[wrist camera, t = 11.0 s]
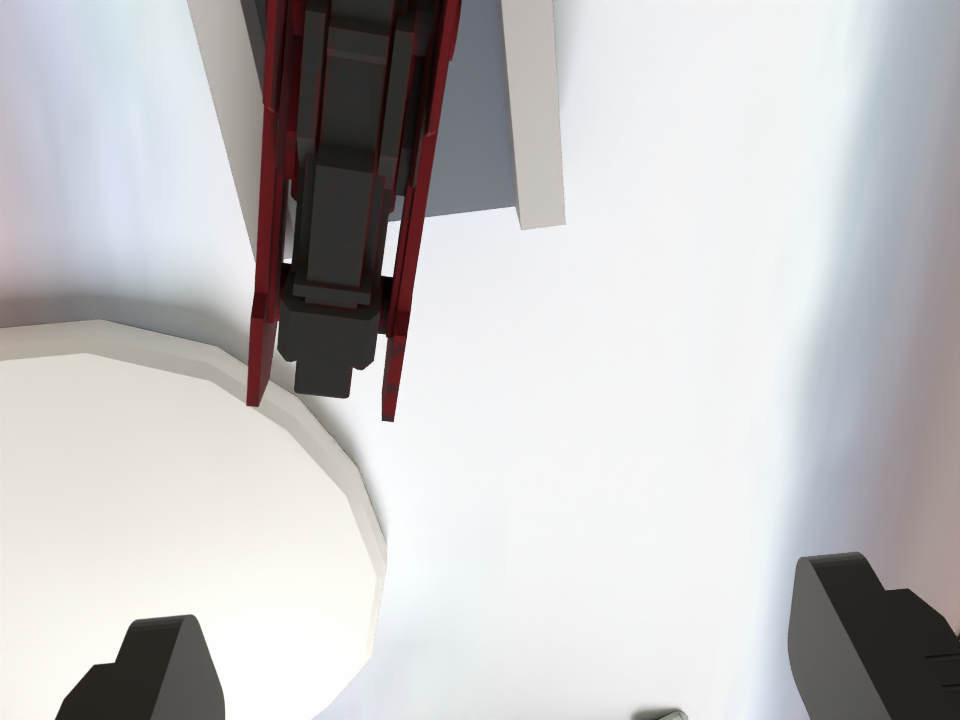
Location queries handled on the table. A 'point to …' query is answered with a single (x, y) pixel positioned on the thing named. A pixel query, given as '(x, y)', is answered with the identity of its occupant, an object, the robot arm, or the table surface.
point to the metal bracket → (675, 716)
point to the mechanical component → (344, 183)
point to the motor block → (463, 122)
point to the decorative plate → (174, 521)
